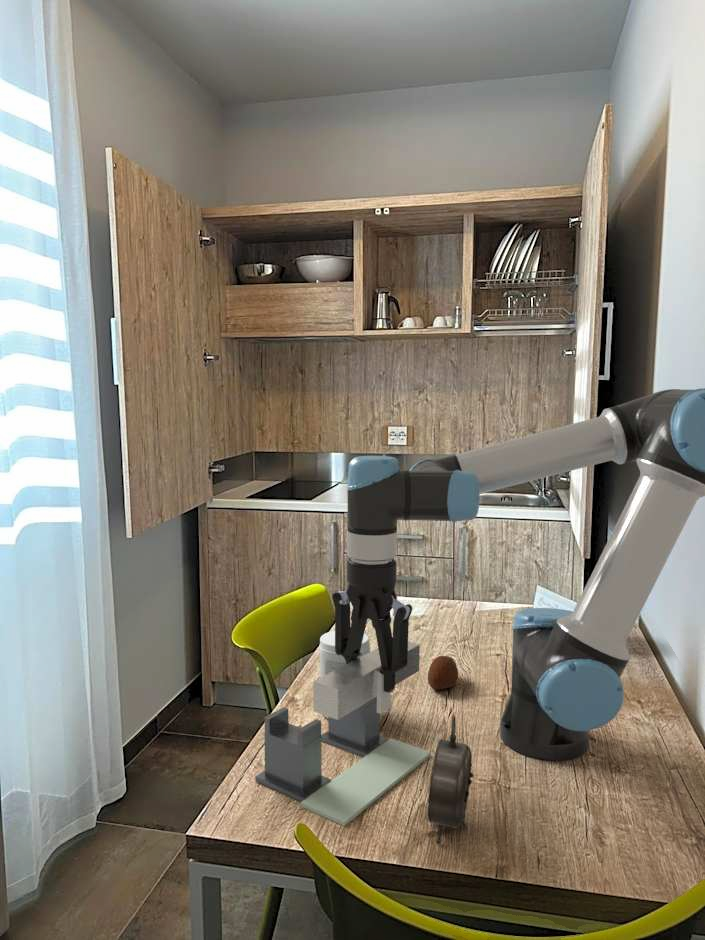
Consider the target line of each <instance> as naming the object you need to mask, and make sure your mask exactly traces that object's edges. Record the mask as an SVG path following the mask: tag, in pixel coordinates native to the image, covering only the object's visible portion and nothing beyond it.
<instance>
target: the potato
mask: <svg viewBox="0 0 705 940" xmlns="http://www.w3.org/2000/svg"><path fill="white" fill-rule="evenodd" d="M458 679H459V670H458V666H457V663H456V660H455V659H453V658H452V657H451V656H449V655H439V656H437V657H436V658H434V659H433V660H432V662H431V664H430V665H429V668H428V672H427V683H428V684H429V685H428V686H430V687H431V688H432V689H434V690H446V689H449V688H452V687H454V686H455V684H456V683H457V682H458Z"/></svg>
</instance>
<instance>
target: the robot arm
mask: <svg viewBox="0 0 705 940" xmlns="http://www.w3.org/2000/svg"><path fill="white" fill-rule="evenodd" d="M611 461H612V462H614V463H616V464H617V465H623V464H627V463H632V462H636V464H637V467H638V470H639V473H640V474H639V477H638V479H637V481H636V483H635V485H634V487H633V489H632V491H631V493H630V495H629V497H628V500H627V501H626V503H625V506H624V508H623V509H622V512H621V514H620V516H619V517H618V520H617V522H616V523H615V525H614V527H613V529H612V532H611V534H610V536H609V538H608V540H607V542H606V544H605V545H604V548H603V550H602V551H601V552H602V553H601V554H600V556H599V558H598V561H597V563H596V564H595V567H594V569H593V571H592V573H591V575H590V577H589V578H588V580H587V582H586V584H585V586H584V588H583V591H582V593H581V595H580V596H579V598H578V601H577V603H576V605H575V607H574V609H573V610H568V609H563V608H562V609H561V608H552V607H532V608H531V607H530V608H524V609H521V610H519V611H517V612H516V613H515V615H514V617H513V626H512V628H511V629H512V652H511V653H512V656H511V658H512V659H511V660H512V661H511V663H512V664H511V690H510V691H511V692H510V694H509V698H508V699H507V702H506V704H505V707H504V710H503V713H502V714H501V718H500V722H499V736H500V739H501V740H502V742H503V743H504V744H505V745H506V746H508V747H509V748H510V749H512V750H514V751H516V752H517V753H519V754H521V755H523V756H528V757H530V758H531V757H532V758H535V759H540V760H548V761H564V760H569V759H571V760H572V759H576V758H578V757H580V756H583V755H584V754H585V753H586V752H587V751H588V749H589V745H590V731H592V730H595V729H600V728H602V727H604V726H606V725H607V724H609V723H610V722H611V721H613V719H614V718H616V716H617V715H618V714H619V712H620V710H621V708H622V705H623V704H624V703H623V702H624V695H625V694H624V693H625V692H624V686H623V683H622V680H621V677H622V675H623V673H624V670H625V669H626V667H627V665H628V663H629V660H630V658H631V655H630V653H629V652H630V651H629V649H628V647H627V644H626V643H627V639H628V638H629V636H630V634H631V631H632V630H633V628H634V626H635V624H636V622H637V620H638V618H639V616H640V614H641V612H642V610H643V608H644V606H645V605H646V602H647V601H648V598H649V596H650V594H651V593H652V590H653V589H654V586H655V585H656V583H657V580H658V579H659V577H660V574H661V573H662V571H663V569H664V567H665V565H666V563H667V562H668V560H669V557H670V555H671V553H672V551H673V549H674V547H675V545H676V544H677V541H678V539H679V537H680V535H681V534H682V531H683V530H684V527H685V525H686V523H687V521H688V520H689V517H690V516H691V513H692V512H693V510H694V507H695V506H696V504H697V501H698V500H699V499H700V498H703V497H705V388H697V389H678V388H677V389H674V388H673V389H671V388H670V389H663V390H661V391H660V390H659V391H657V392H654V393H650V394H647V395H645V396H641V397H640V398H636V399H633V400H630V401H628V402H625V403H622V404H618V405H615V406H612V407H608V408H604V409H603V410H602V412H601V414H600V415H599V416H597V417H592V418H590V419H585V420H582V421H578V422H574V423H571V424H567V425H563V426H559V427H556V428H551V429H547V430H543V431H540V432H535V433H533V434H528V435H525V436H520V437H517V438H513V439H510V440H506V441H502V442H498V443H495V444H490V445H486V446H482V447H480V448H479V447H478V448H475V449H471V450H468V451H463V452H460V453H457V454H453V455H449V456H445V457H441V458H438V459H430V458H429V459H423V460H420V461H418V462H416V463H415V464H414V465H413V466H412V467H411V468H410V469H409V470H404V469H400V468H401V467H400V466H399V459H398V458H396V457H393V456H387V455H362V456H361V455H359V456H355V457H354V458H352V459H351V460H350V462H349V464H348V472H347V473H348V476H347V489H346V490H347V530H346V531H347V535H346V536H347V537H346V555H347V557H349V558H348V560H347V561H346V581H347V583H348V587H347V588H346V589H342V590H339V591H337V592H334V593H332V595H331V598H332V601H333V605H334V631H335V652H336V654H337V655H342V656H343V657H344V659H345V660H346V664H348V663H350V662H352V661H354V660H356V659H357V657H359V656H361V655H362V653H361V654H360V650H361V645H362V641H363V636H364V633H365V630H366V626H367V624H368V623H367V622H368V620H370V621H371V626H372V628H373V629H374V631H375V637H376V638H375V639H376V643H377V647H378V649H379V655H380V661H381V667H382V669H381V670H379V671H377V713H380V715H381V714H383V713H385V712H386V711H388V709H389V710H390V709H391V704H392V701H391V699H392V696H391V695H392V691H395V688H396V685H395V671H396V672H397V671H399V670H400V669H402V668H404V667H406V666H407V659H408V642H409V622H410V617H411V614H412V612H413V606H412V605H411V604H409V603H407V604H404V603H402V602H401V601H399V600H398V597H397V594H396V591H395V587H396V583H397V565H398V564H397V561H396V560H395V559H396V557H397V553H398V552H397V551H398V550H397V549H398V547H397V544H398V521H431V522H432V521H433V522H434V521H435V522H436V521H437V522H438V521H439V522H452V523H456V522H461V521H465V522H466V521H472V520H474V519H475V518H476V517H478V516H477V515H478V513H479V509H480V508H479V507H480V497H481V496H480V495H482V494H486V493H489V492H494V491H497V490H502V489H505V488H509V487H513V486H517V485H521V484H524V483H529V482H533V481H537V480H540V479H544V478H548V477H553V476H557V475H561V474H563V473H568V472H572V471H576V470H578V469H583V468H587V467H591V466H595V465H599V464H603V463H606V462H611ZM351 606H352V610H351ZM392 609H393V611H392V612H393V613H392V616H391V610H392ZM392 617H393V622H392ZM392 623H393V624H392ZM391 624H392V627H391Z"/></svg>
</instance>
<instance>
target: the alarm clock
mask: <svg viewBox="0 0 705 940" xmlns="http://www.w3.org/2000/svg"><path fill="white" fill-rule="evenodd" d="M450 727H451V728H450V729H451V732H450V735H449V740H447V739H444V738H441V739H439V741H438V743H437V745H436V748H435V749H436V750H435V754H434V758H433V763H432V767H431V773H430V774H431V775H430V784H429V791H428V802H427V819H428V822H429V823H430V824H435V825H437V834H436V835H437V838H436V840H435V841H436V842H435V843H436V844H437V845H440V844H441V841H442V840H441V838H442V834H443V831H444V827H447V828H453V829H457V828H458V827H460V826H461V825H462V826H463V828H464V829H465V830H467V829H468V828H467V825H466V823H465V819H466V810H467V806H468V805H467V804H468V798H469V796H470V792H469V791H470V785H471V784H472V781H473V780H472V779H471V778H473V777H474V773H472V766H473V764H472V757H473V756H472V751H471V748H470V747H469V745H467V744H466V743H463V742H458V741H456V740H457V735H456V734H455V733H456V716H455V714H453V715H452V718H451V726H450Z"/></svg>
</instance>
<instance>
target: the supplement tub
mask: <svg viewBox="0 0 705 940" xmlns="http://www.w3.org/2000/svg"><path fill="white" fill-rule="evenodd" d="M318 648H319V653H318V655H319V657H318V658H319V678H321V677H323V676H325V675H326V674H328V673H330V672H332V671H334V670H336V669H338V668H340V667H342V666H344V665H346V660H345V659H344V657H343V656H342V655H337V654H336V652H335V630H333V631H328V632H326V633H323V634H322V635H321V636H320V638H319V647H318ZM369 652H371V644H370V637H369V635H367V634H366V633H365V632H364V636H363V641H362V645H361V650H360V654H361V653H362V655H361V656H359V657H357V659H358V658H360V657H362V656H364V655H366V654H368V653H369ZM323 717H324V718H326V719H328V716H325V715H323Z"/></svg>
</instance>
